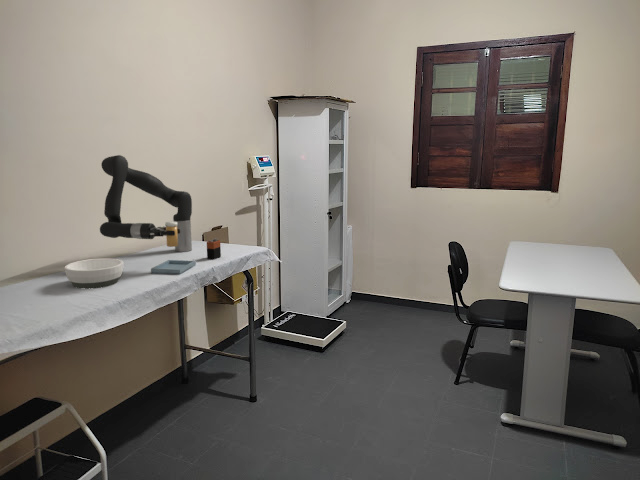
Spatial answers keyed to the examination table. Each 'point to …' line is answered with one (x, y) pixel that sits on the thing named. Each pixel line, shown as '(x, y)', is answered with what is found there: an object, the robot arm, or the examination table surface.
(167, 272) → the tray
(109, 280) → the bowl
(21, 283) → the examination table surface
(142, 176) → the robot arm
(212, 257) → the battery
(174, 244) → the pill bottle
